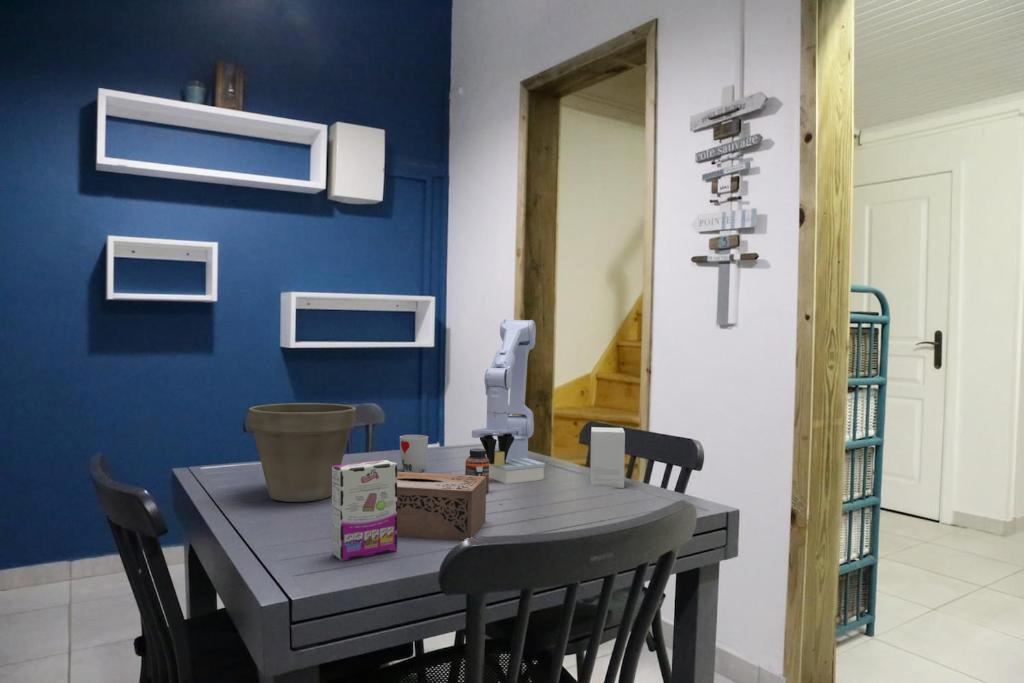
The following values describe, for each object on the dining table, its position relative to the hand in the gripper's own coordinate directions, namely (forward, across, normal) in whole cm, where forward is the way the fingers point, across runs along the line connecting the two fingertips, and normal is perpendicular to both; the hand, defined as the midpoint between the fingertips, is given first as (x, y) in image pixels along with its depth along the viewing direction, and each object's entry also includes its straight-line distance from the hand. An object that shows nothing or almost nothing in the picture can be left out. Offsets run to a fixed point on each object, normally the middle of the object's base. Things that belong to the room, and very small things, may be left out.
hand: (496, 462), depth 192 cm
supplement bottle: (+6, -11, -9) cm, 15 cm away
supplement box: (+6, +26, -15) cm, 30 cm away
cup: (+6, -13, +24) cm, 28 cm away
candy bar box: (+6, -52, -39) cm, 65 cm away
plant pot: (+6, -49, +10) cm, 50 cm away
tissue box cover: (+6, -36, -28) cm, 46 cm away
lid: (+1, +6, 0) cm, 6 cm away
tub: (+5, +6, 0) cm, 8 cm away
